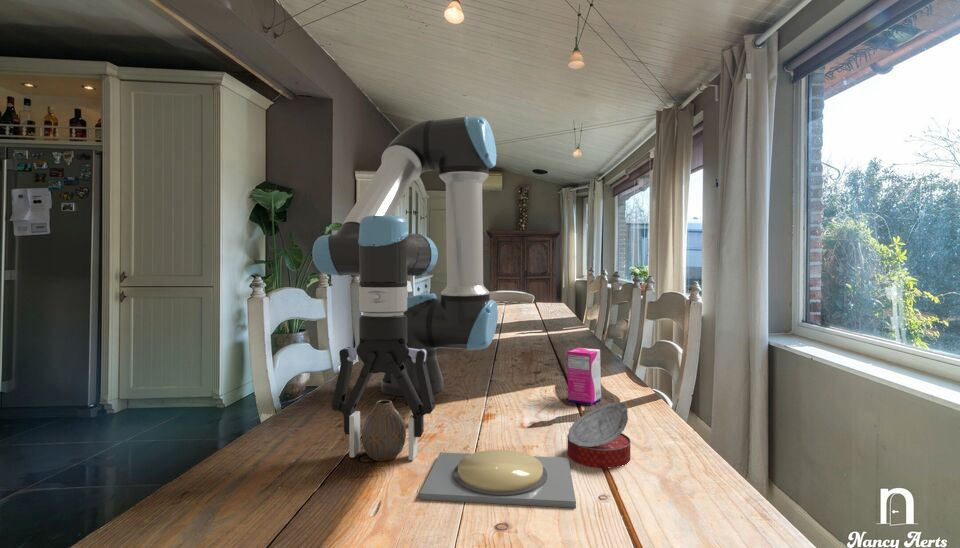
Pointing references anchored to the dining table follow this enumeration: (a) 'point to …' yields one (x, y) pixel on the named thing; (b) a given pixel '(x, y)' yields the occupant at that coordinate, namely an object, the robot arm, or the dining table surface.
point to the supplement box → (584, 375)
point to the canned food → (600, 437)
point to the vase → (383, 432)
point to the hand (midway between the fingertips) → (383, 455)
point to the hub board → (500, 479)
